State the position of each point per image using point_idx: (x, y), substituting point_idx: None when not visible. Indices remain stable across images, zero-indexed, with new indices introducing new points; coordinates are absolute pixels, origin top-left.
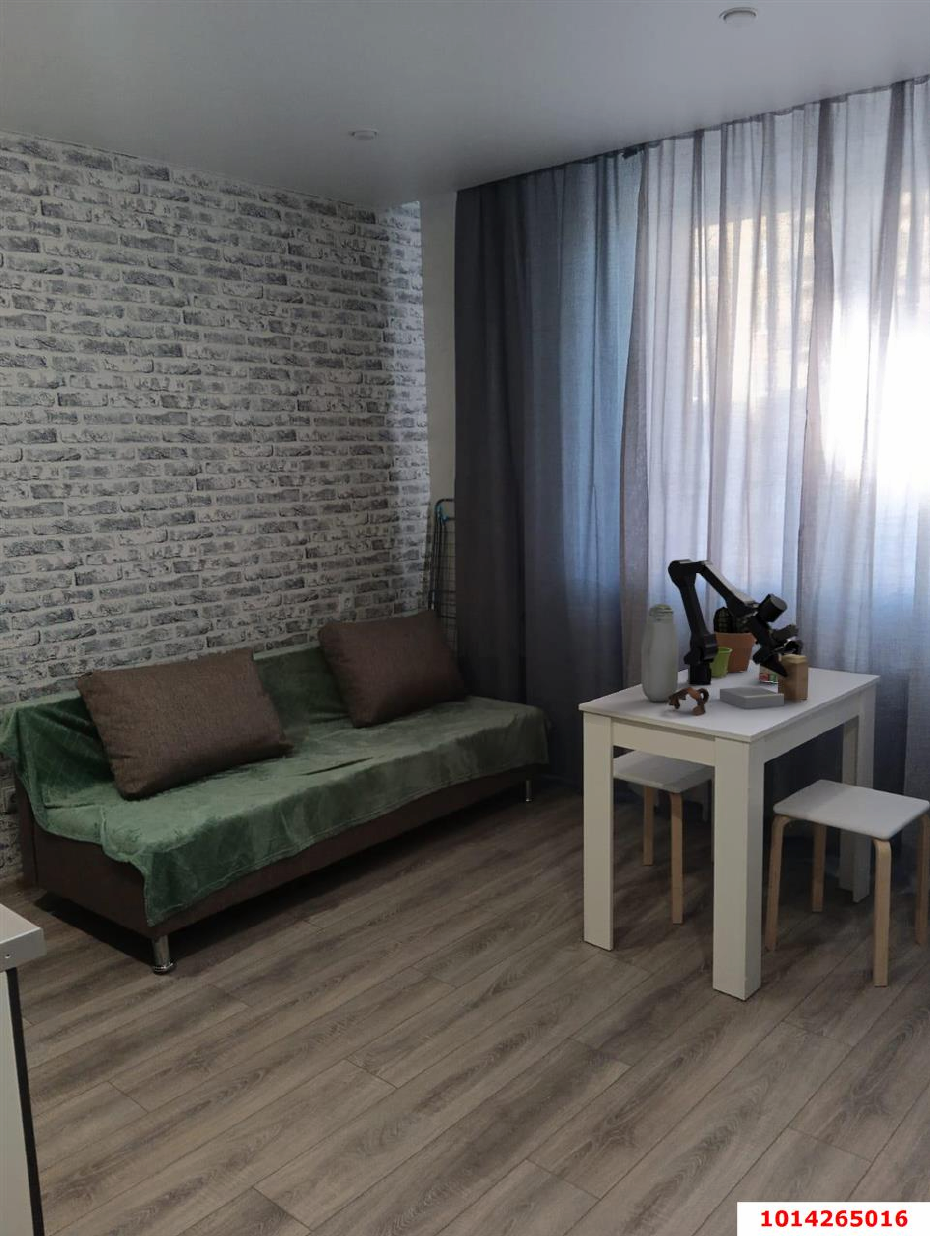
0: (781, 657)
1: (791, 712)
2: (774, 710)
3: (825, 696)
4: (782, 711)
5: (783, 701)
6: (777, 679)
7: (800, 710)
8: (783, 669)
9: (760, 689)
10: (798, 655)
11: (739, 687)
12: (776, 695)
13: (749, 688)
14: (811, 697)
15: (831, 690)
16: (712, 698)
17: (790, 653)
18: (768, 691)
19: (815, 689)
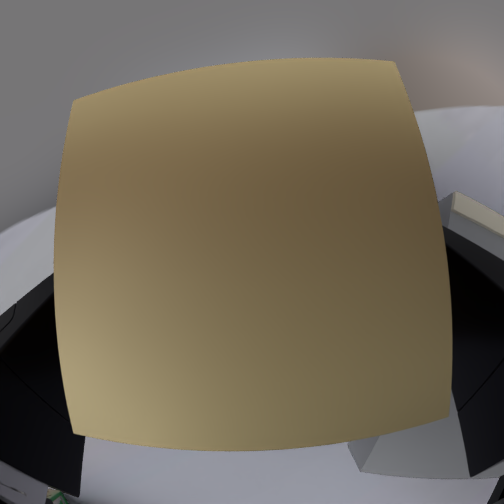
0: (438, 398)
1: (471, 122)
2: (501, 183)
3: None
4: (488, 153)
5: (438, 203)
6: (53, 500)
7: (427, 113)
8: (466, 240)
9: None
10: (90, 221)
11: (450, 474)
12: (488, 210)
13: (446, 435)
14: None
15: (3, 276)
16: (489, 478)
17: (5, 476)
18: None
19: None
